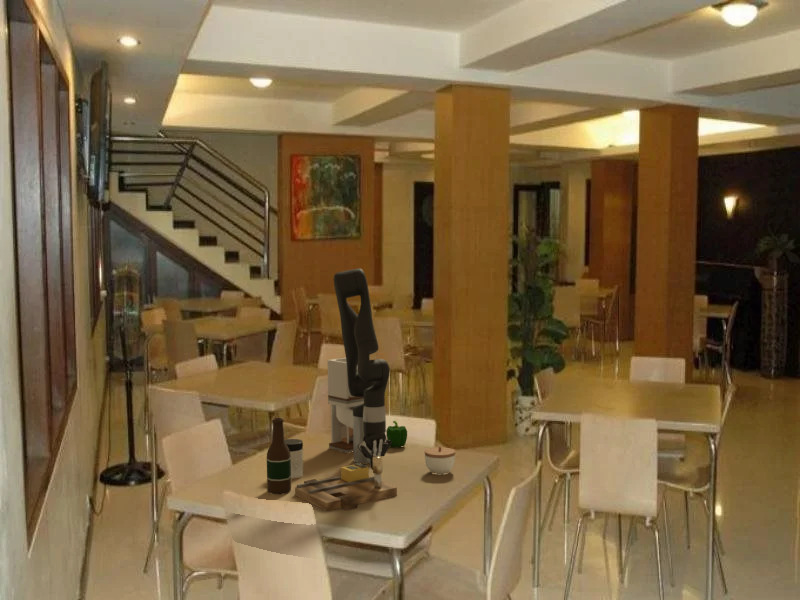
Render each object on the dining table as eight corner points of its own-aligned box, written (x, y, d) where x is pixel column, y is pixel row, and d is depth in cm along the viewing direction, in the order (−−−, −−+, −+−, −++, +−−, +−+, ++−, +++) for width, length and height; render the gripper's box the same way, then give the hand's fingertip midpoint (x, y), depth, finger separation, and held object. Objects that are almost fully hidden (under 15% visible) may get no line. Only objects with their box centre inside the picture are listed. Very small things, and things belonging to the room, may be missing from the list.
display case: (329, 448, 334) (327, 360, 331) (350, 443, 341) (348, 357, 338) (347, 453, 325) (346, 362, 323) (368, 448, 332) (367, 360, 330)
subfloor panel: (358, 479, 291) (358, 469, 290) (402, 497, 269) (402, 487, 269) (290, 492, 276) (290, 482, 275) (331, 513, 254) (331, 502, 254)
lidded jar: (429, 467, 304) (428, 442, 303) (458, 469, 301) (458, 443, 300) (421, 475, 294) (421, 449, 293) (451, 478, 291) (451, 451, 290)
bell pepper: (407, 449, 331) (407, 423, 330) (386, 449, 331) (386, 424, 330) (407, 444, 339) (406, 419, 339) (386, 444, 339) (386, 419, 338)
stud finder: (359, 475, 285) (358, 462, 285) (368, 479, 280) (368, 466, 280) (341, 479, 281) (341, 465, 281) (350, 483, 276) (350, 469, 276)
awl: (379, 485, 274) (378, 455, 273) (384, 487, 271) (383, 457, 271) (371, 487, 272) (370, 456, 271) (376, 489, 270) (376, 458, 269)
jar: (285, 480, 290) (284, 445, 289) (274, 474, 297) (274, 441, 296) (308, 476, 295) (307, 442, 294) (297, 470, 302) (297, 437, 301)
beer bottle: (280, 496, 272) (279, 422, 271) (262, 492, 276) (260, 419, 275) (296, 489, 279) (294, 417, 277) (277, 486, 283) (276, 415, 281)
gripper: (384, 414, 291) (384, 464, 292) (351, 419, 283) (352, 470, 284) (397, 418, 285) (397, 469, 286) (364, 423, 277) (364, 475, 278)
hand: (375, 469), depth 285 cm, fingers closed
